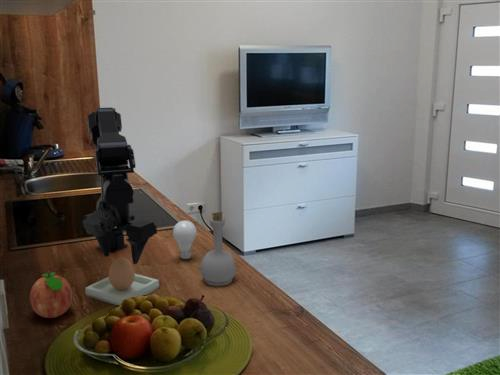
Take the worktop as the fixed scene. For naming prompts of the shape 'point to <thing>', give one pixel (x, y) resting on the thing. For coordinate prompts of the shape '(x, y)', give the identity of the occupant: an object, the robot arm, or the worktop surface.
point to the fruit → (51, 295)
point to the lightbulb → (184, 237)
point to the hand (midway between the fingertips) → (120, 260)
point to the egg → (121, 273)
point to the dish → (114, 296)
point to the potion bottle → (218, 257)
